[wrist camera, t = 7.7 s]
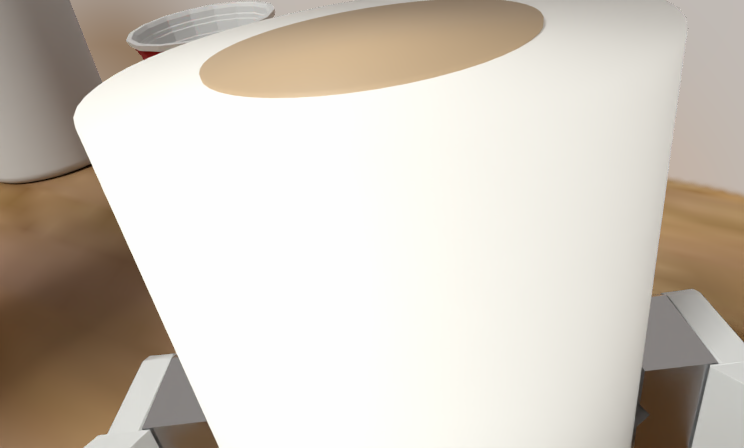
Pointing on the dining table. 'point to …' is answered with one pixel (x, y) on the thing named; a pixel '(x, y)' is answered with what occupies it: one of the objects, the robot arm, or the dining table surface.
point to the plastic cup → (196, 25)
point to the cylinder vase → (41, 89)
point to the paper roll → (403, 217)
